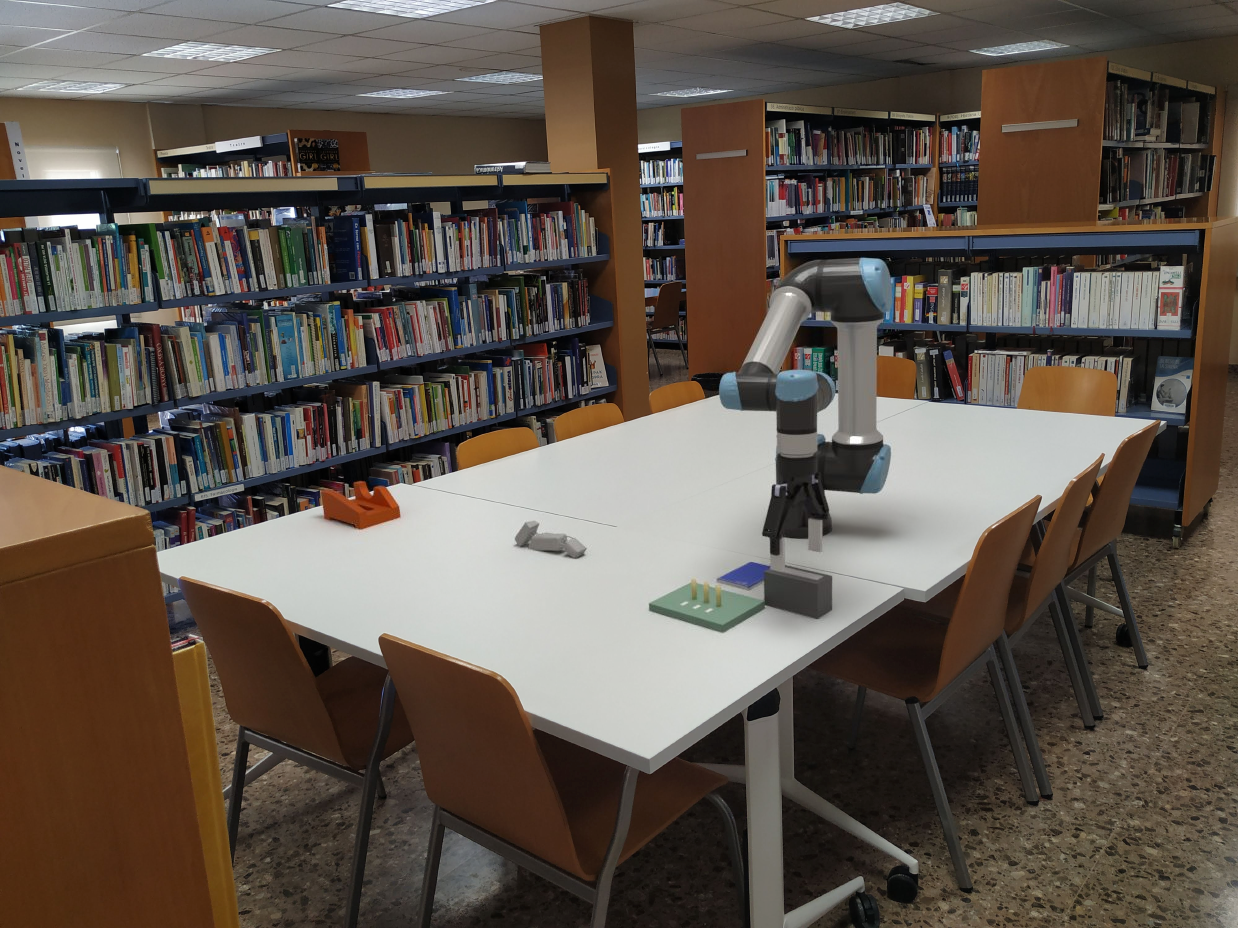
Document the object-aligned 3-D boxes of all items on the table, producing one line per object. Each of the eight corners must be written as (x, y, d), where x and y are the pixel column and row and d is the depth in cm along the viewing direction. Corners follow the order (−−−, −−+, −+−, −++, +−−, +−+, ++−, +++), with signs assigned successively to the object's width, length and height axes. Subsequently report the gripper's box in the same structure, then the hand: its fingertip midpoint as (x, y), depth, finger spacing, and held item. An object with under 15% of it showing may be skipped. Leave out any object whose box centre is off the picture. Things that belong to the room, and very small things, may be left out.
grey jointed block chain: (513, 544, 228) (513, 519, 226) (524, 540, 231) (523, 514, 229) (577, 566, 217) (577, 539, 214) (587, 561, 219) (587, 534, 217)
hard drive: (748, 585, 192) (781, 568, 201) (716, 577, 197) (749, 560, 206) (748, 593, 192) (781, 575, 201) (716, 584, 198) (749, 567, 207)
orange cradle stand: (324, 520, 260) (320, 491, 258) (363, 508, 269) (360, 480, 267) (361, 531, 248) (357, 501, 246) (400, 518, 257) (397, 489, 255)
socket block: (779, 596, 188) (778, 562, 187) (832, 609, 181) (832, 574, 179) (764, 604, 185) (763, 570, 183) (817, 618, 177) (817, 583, 175)
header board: (692, 588, 195) (691, 563, 194) (764, 607, 183) (764, 581, 182) (649, 610, 185) (647, 584, 184) (722, 632, 173) (722, 604, 172)
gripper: (813, 439, 186) (813, 540, 191) (742, 464, 169) (743, 574, 173) (847, 443, 181) (846, 546, 186) (777, 469, 164) (778, 583, 169)
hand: (796, 560), depth 180 cm, fingers open, 13 cm apart
